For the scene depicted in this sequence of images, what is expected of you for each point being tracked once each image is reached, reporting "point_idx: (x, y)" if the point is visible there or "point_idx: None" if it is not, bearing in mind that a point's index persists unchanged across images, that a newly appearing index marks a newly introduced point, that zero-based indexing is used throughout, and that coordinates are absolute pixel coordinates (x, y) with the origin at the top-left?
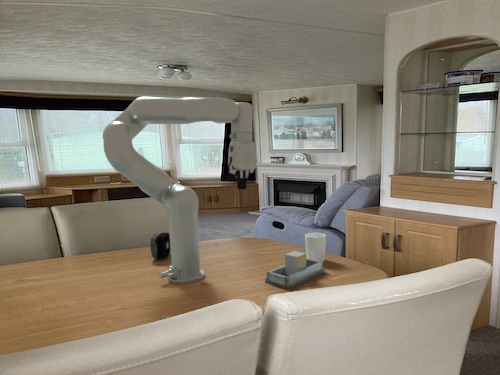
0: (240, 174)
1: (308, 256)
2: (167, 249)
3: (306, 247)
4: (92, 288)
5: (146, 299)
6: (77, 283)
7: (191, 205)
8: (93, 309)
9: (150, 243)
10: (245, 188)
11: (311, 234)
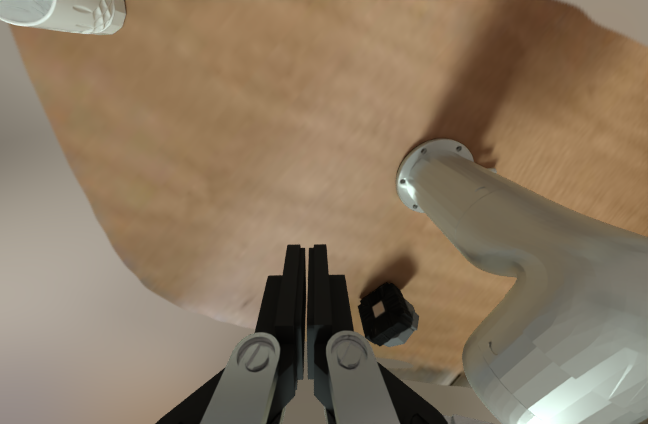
0: (382, 387)
1: (114, 4)
2: (375, 302)
3: (95, 6)
4: None
5: (555, 132)
6: None
7: (635, 235)
8: (617, 161)
9: (418, 318)
10: (299, 245)
11: (5, 16)
